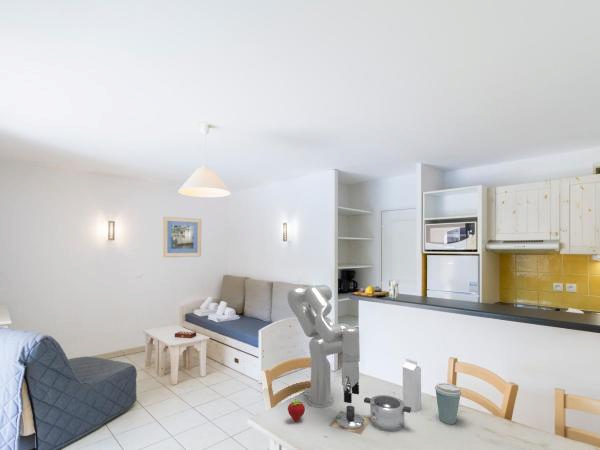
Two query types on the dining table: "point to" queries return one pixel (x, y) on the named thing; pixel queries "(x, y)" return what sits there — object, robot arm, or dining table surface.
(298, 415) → the strawberry
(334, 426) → the trivet
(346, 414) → the lid
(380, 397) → the pot
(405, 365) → the milk
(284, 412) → the dining table surface
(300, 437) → the dining table surface
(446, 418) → the disposable coffee cup
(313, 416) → the dining table surface
